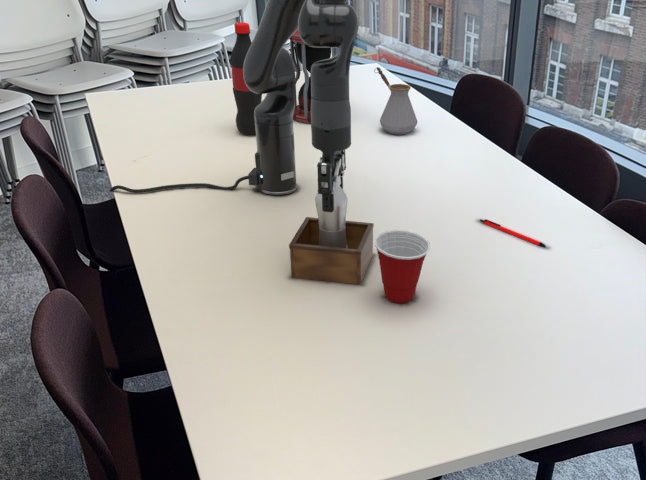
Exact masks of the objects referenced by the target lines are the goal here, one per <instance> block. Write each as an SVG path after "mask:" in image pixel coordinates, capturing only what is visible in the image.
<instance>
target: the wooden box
mask: <svg viewBox="0 0 646 480" xmlns="http://www.w3.org/2000/svg"><path fill="white" fill-rule="evenodd" d="M374 226H375V225H374V223H373V222H366V221H365V222H364V221H355V220H346V224H345V232H346V242H347V246H348V248H338V247H327V246H318V245H319V221H318V217H312V216H305V218H304V220H303V221H302V223H301V225H300V226H299V228H298V230H297V231H296V233H295V234H294V236H293V238H292V239H291V241H290V243H289V244H288V249H289V257H290V258H289V259H290V273H291V278H292V279H293V278H294V279H295V278H296V279H303V280H313V281H324V282H332V283H343V284H353V285H361V284H362V282H363V280H364V277H365V275H366V272H367V270H368V268H369V265H370V263H371V261H372V258H373V255H374Z"/></svg>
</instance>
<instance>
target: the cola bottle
mask: <svg viewBox="0 0 646 480" xmlns="http://www.w3.org/2000/svg"><path fill="white" fill-rule="evenodd" d="M234 33H235V34H236V38H235V43H234V45H233V49H232V51H231V54H230V57H229V64H230V69H231V79H232V80H231V81H232V92H233V98H234V101H235V106H236V110H237V111H236V115H235V125H236V128H237V130H238V132H239V133H240V134H241V135H243V136H250V137H251V136H252V137H253V136H256V130H255V118H254V110H255V108H256V106H257V105H259V104H260V103H261V102H262V101H263V99H262V98H263V97H262V96H263V94H256V93H253V92H252V91H250V90H249V89H248V87H247V86H246V84H245V81H244V77H243V65H244V60H245V57H246V55H247V52H248V50H249V48H250V46H251V43H252V40H251V37H250V34H251V27H250V24H249V23H248V22H237V23H235V25H234Z"/></svg>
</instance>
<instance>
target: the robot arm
mask: <svg viewBox="0 0 646 480" xmlns="http://www.w3.org/2000/svg"><path fill="white" fill-rule="evenodd" d="M348 1H349V0H267V1H266V4H265V7H264V10H263V13H262V17H261V19H260V22H259V24H258V27H257V30H256V32H255V35H254V37H253V39H252V40H251V42H252V43H251V46H250V48H249V50H248V52H247V55H246V57H245V60H244V65H243V77H244V81H245V84H246V86H247V87H248V89H249V90H250V91H252V92H253V93H256V94H262V95H265V94H266V95H265V97H264V98H263V99H262V101H261V103H260V104H259V105H257V106H256V108H255V110H254V118H255V130H256V135H255V141H256V152H255V153H254V163H255V167H253V168H252V170H251V171H249V173H248V174H247V175H245V176H244V175H243V176H241V177H239V178H238V179H237V180H235V183H234V184H233V185H230V186H221V185H216V184H211V183H205V182H204V183H203V182H200V183H198V182H197V183H194V182H193V183H178V184H168V185H161V186H160V185H159V186H155V187H149V188H140V189H139V188H138V189H137V188H135V189H134V188H130V187H127V186H123V185H114V186H112V187H111V188H110V189H109V193H113V192H114V191H116V190H122V191H125V192H129V193H132V194H142V193H151V192H156V191H162V190H169V189H170V190H171V189H180V188H181V189H182V188H201V187H202V188H210V189H215V190H222V191H232V190H235V189H236V188H238V187H239V184H240V183H241V182H243V181H246V180H248V186H256V188H257V192H261V193H264V194H266V195H270V196H284V195H289V194H292V193H294V192H295V191H296V190H297V189H298V185H297V174H296V173H297V172H296V170H297V169H296V152H295V130H294V119H293V112H294V109H295V78H296V69H295V67H294V63H293V60H292V57H291V53H290V52H289V51H288V50H287V49H286V48H285V47H284V46H285V45H286V44H287V42H288V41H290V39H289V38H290V37H291V36H292V35H293V34H294V33H295V32H296V31H297V30H298V33H299V36H300V38H301V40H302V41H303V42H304V44H306V45H307V46H309V47H325V48H331V49H334V48H337V49H338V50H337V55H336V56H334V55H333V56H331V57H330V58H329V59H325V60H320V61H317V62H315V63H314V64H313V65H312V66H311V72H310V73H309V75H310V74H311V123H310V132H311V133H310V134H311V145H312V147H313V148H314V149H315V150H318V151H320V152H321V153H322V156H321V157H320V158H319V161H318V162H317V164H316V168H317V193H318V194H322V210H323V211H324V212H333V210H334V186H335V183H337V181H338V173H340V175H341V184H340V187H341V188H342V189H343V190H344V176H345V171H346V169H347V165H346V163H347V162H346V159H347V158H346V150H348V149H349V148H350V147H351V144H352V110H351V101H350V68H351V62H352V61H351V60H352V55H353V51H354V48H355V43H356V41H357V37H358V32H359V27H360V20H359V19H360V18H359V15H358V12H357V11H356V9H355V7H354V6H352V5H351V4H350V3H347V2H348ZM332 176H333V177H332ZM325 182H327V183H328V188H327V187H324V186H325Z"/></svg>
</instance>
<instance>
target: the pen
mask: <svg viewBox="0 0 646 480" xmlns="http://www.w3.org/2000/svg"><path fill="white" fill-rule="evenodd" d="M479 221H480V222H482V223H483V224H485V225H486V226H489V227H492V228H494V229H496V230H499V231H502V232H504V233H507V234H509V235H511V236H513V237H515V238H519V239H521V240H524V241H527V242H529V243H531V244H533V245H536V246H539V247H543V248H547V245H546V244H545V243H543V242H542V241H539V240H536V239H534V238H532V237H529V236H527V235H524V234H522V233H519V232H516V231H514V230H512V229H510V228H507V227H504V226H503V225H501V224H500V223H496V222H494V221H492V220H489V219H486V218H485V219H479Z"/></svg>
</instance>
